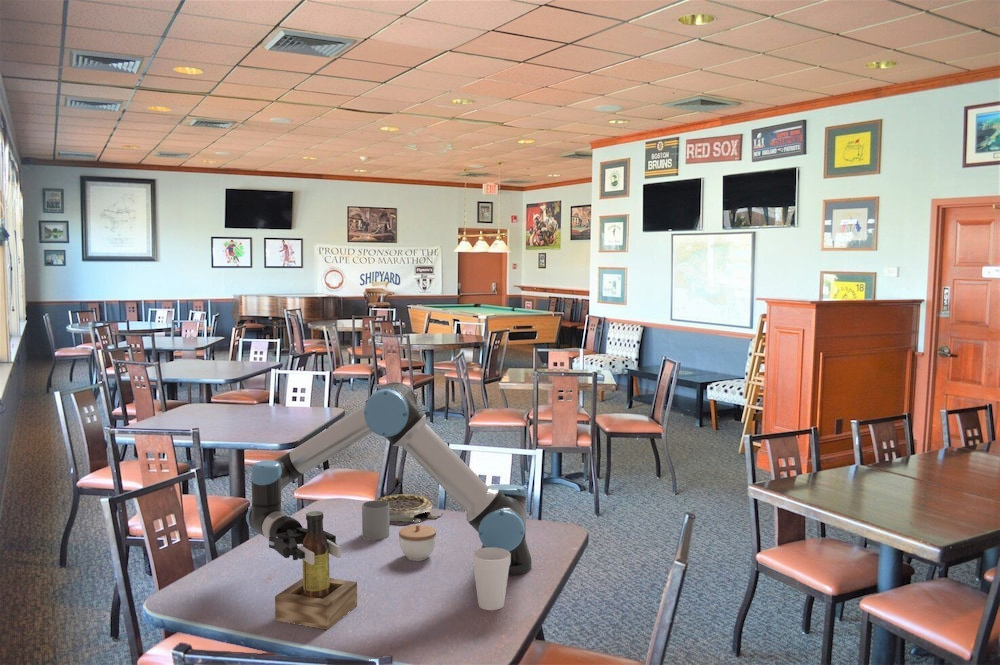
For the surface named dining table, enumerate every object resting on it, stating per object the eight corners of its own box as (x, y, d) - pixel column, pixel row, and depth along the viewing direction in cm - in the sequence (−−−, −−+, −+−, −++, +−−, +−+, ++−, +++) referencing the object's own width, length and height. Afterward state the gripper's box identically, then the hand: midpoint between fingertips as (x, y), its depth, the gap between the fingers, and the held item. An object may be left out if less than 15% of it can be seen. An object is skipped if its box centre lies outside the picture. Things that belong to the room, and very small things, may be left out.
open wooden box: (357, 605, 193) (357, 582, 192) (326, 630, 179) (326, 605, 179) (308, 597, 197) (308, 574, 197) (275, 620, 184) (274, 596, 184)
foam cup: (496, 616, 187) (497, 563, 186) (465, 607, 192) (465, 556, 191) (517, 602, 195) (517, 551, 194) (486, 593, 200) (486, 544, 199)
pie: (345, 520, 259) (345, 505, 259) (386, 499, 285) (386, 486, 284) (421, 531, 249) (421, 516, 249) (456, 508, 275) (456, 494, 274)
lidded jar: (413, 566, 218) (412, 534, 217) (391, 556, 226) (391, 524, 225) (443, 557, 225) (443, 526, 224) (421, 547, 233) (421, 517, 232)
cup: (383, 541, 239) (383, 509, 238) (358, 539, 240) (358, 507, 239) (392, 532, 247) (392, 501, 246) (368, 530, 248) (368, 499, 248)
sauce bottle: (334, 594, 188) (335, 513, 186) (312, 601, 184) (312, 519, 182) (319, 586, 193) (319, 507, 191) (297, 593, 188) (297, 513, 186)
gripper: (316, 536, 207) (361, 561, 190) (247, 552, 195) (288, 581, 177) (316, 508, 207) (361, 531, 189) (246, 523, 194) (288, 549, 177)
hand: (326, 555), depth 183 cm, fingers closed on sauce bottle, 6 cm apart
